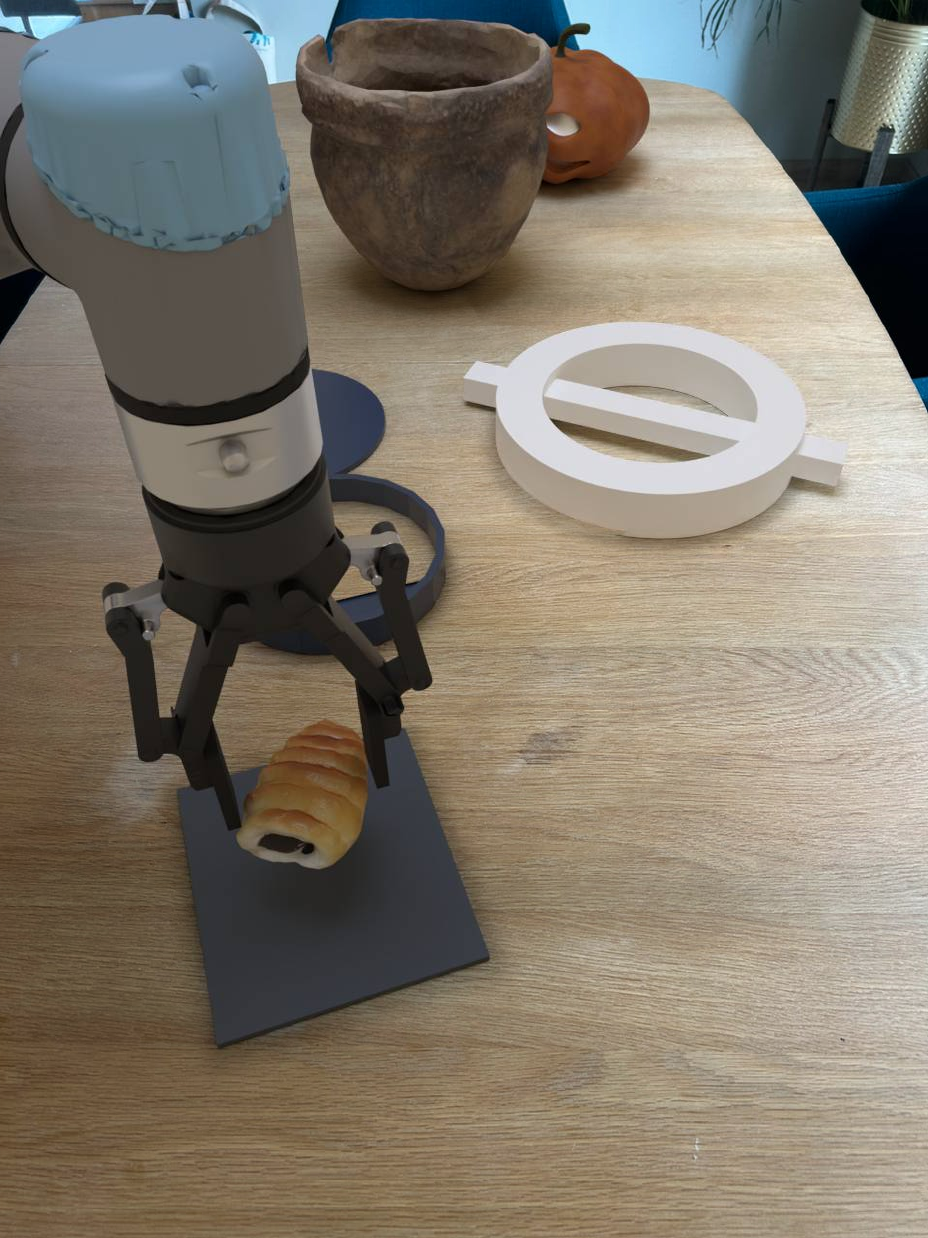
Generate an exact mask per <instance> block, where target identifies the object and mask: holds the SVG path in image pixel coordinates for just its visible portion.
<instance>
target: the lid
mask: <svg viewBox="0 0 928 1238" xmlns="http://www.w3.org/2000/svg"><path fill="white" fill-rule="evenodd" d="M311 369H312V376H313V382H314V388H315V395H316V401H317V408H318V414H319V421H320V427H321V434H322V440H323V445H322V453H323V455H324V457H325V461H326V466H327V473H328V474H348V473H349V472H350V471H353V470H354V469H355V468H357V467H358V466H359V465H361V464H363V463H364V462H365V461H366V460H367V459H368V458H369V457H370V456H371V455H372V454H373V453H374V452H375V451H376V449H377V448H378V447H379V445H380V443H381V441H382V440H383V437H384V434H385V431H386V414H385V409H384V406H383V404H382V402H381V401H380V399H379V398H378V396H377V395H376V393H374V392H373V391H372V390H371V389H370V388H369V387H368V386H366V385H365V384H364V383H362V382H360V381H358V380H356V379H354V378H351V377H349V376H347V375H344V374H341V373H339V372H334V371H328V370H326V369H325V370H324V369H319V368H311Z"/></svg>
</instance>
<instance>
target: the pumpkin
mask: <svg viewBox="0 0 928 1238" xmlns="http://www.w3.org/2000/svg"><path fill="white" fill-rule="evenodd" d="M591 29H592V28H591V24H590V23H586V22H577V23H573V24H570V25H568V26H567V27H565V28H564V29H563V31H561V33H560V35H559V37H558V40H557V45H556V46H552V47H550V50H551V56H552V64H553V72H554V74H553V81H552V84H553V92H554V94H553V102H552V104H551V105H550V107H549V108H548V109H547V111H546V116H545V117H546V123H547V129H548V155H547V159H546V168H545V170H544V173H543V176H542V180H543V181H545V182H548V183H550V184H554V185H559V184H562V183H563V184H564V183H565V182H568V181H570V180H572V179H580V180H588V179H594V178H598V177H600V176H603V175H605V174H607V173H608V172H610V171H612V170H614V169H615V168H616V167H617V166H618V165H619V164H620V163H621V162H622V161H623V160H624V159H625V158H626V156H627V155H628V153H629V152H631V151H632V150H633V149H634V148H635V147H636V146H637V144H638V143H639V142H640V141H641V139H642V138H643V136H644V134H645V133H646V130H647V128H648V125H649V123H650V118H651V117H650V116H651V107H650V101H649V97H648V94H647V92H646V90H645V87H643V85H642V84H641V82H640V81H639V80H638V78H637V77H636V76H635V75H633V73H632V72H630V71H629V70H627V68H626V67H623V65H621V64H618V63H616V62H615V61H614V60H612V59H611V57H609V56H607V55H606V54H604V53H602V52H600V51H597V50H594V49H589V48H588V49H587V48H586V49H585V48H584V49H577V50H573V49H571V48H568V47H566V44H567V42H568V39H569V38H571V36H575V35H581V36H582V35H583V36H587V35H588V34H590V33H591Z"/></svg>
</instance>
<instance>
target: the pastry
mask: <svg viewBox="0 0 928 1238" xmlns="http://www.w3.org/2000/svg"><path fill="white" fill-rule="evenodd" d="M362 739H363V738H361V736H360V735H359V734H358V733H357V732H356V731H355V730H354V729H352V728H350V727H348V726H346V725H342V724H338V723H335V722H334V721H332V720H330V719H321V720H318V721H317V722H316V723H313V724H309V725H308V726H306V727H305V728H304V729H302V730H301V731H300V732H298V734H296V735H291V736H289V738H288V739H287V740H286V741H285V742H284V745H283V747H282V749H278V750H276V751H275V752H274V753H273V755H272V756H271V759H270V761H269V763H268V764H269V765H268V764H267V765H268V766H266V767H264V768H263V769H262V770H261V772H260V774H259V776H258V782H257V786H256V788H255V789H253V790H252V791H250V792H249V793H248V794H247V796H246V798H245V800H244V803H243V821H242V824H241V825H242V827H241V828H240V830H239V831H238V833H237V835H236V837H237V841H238V843H239V845H240V846H241V847H242V848H243V849H245V850H248V851H250V852H251V853H252V854H253V855H255V856H257V857H259V858H262V859H265V860H268V861H272V862H297V863H299V864H300V865H302V866H304V867H308V868H314V869H322V868H326V867H328V866H331V865H333V864H334V863H335V862H337V861H338V860H339V859H340V858H341V857H342V856H343V855H344V854H345V853H346V852H347V851H348V850H349V849H350V848H351V846H352V845H353V844H354V843H355V841H356V840H357V838H358V836H359V834H360V832H361V828H362V822H363V816H364V811H365V806H366V802H367V798H368V792H367V787H368V781H367V758H366V754H365V748H364V743H363V741H362Z"/></svg>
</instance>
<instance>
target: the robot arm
mask: <svg viewBox="0 0 928 1238" xmlns="http://www.w3.org/2000/svg"><path fill="white" fill-rule="evenodd" d="M276 123H277V122H276V117H275V112H274V107H273V101H272V96H271V90H270V86H269V81H268V75H267V70H266V67H265V64H264V62H263V60H262V58H261V56H260V54H259V52H258V51H257V49H256V47H255V46H254V44H252V43H251V42H250V41H249V40H248V39H247V38H246V37H245V36H244V35H243V34H242V33H240V32H239V31H237V30H236V29H234V28H233V27H231V26H228V25H226V24H224V23H222V22H219V21H217V20H216V21H215V20H212V19H208V18H202V17H188V18H178V17H173V16H172V15H170V14H160V13H157V14H156V13H155V14H154V13H153V14H151V13H150V14H132V15H131V14H130V15H122V16H114V17H107V18H100V19H96V20H92V21H91V20H90V21H87V22H83V23H79V24H75V25H72V26H69V27H66V28H63V29H61V30H58V31H55V32H53V33H51V34H48V35H47V36H45V37H44V38H38V37H37V36H35V35H33V34H32V33H30V32H27V31H25V30H23V31H15V30H13V29H11V28H9V27H7V26H5V25H0V280H3V279H6V278H8V277H11V276H13V275H16V274H19V273H21V272H24V271H28V270H30V269H34V270H36V271H38V272H40V273H42V274H43V275H45V276H47V277H48V278H49V279H51V280H53V281H55V282H56V283H57V284H60V285H61V286H63V287H65V288H68V289H70V290H72V291H74V293H75V294H76V295H77V297H78V299H79V301H80V303H81V305H82V308H83V311H84V313H85V317H86V320H87V322H88V326H89V329H90V333H91V335H92V339H93V341H94V344H95V347H96V350H97V354H98V356H99V359H100V362H101V365H102V368H103V372H104V378H105V380H106V384H107V386H108V390H109V393H110V396H111V399H112V402H113V405H114V406H113V407H114V408H115V413H116V415H117V418H118V421H119V424H120V428H121V431H122V434H123V439H124V441H125V444H126V447H127V450H128V454H129V457H130V460H131V462H132V466H133V471H134V473H135V476H136V478H137V480H138V481H139V482H140V483H141V495H142V498H143V502H144V505H145V508H146V511H147V515H148V518H149V521H150V524H151V527H152V531H153V535H154V537H155V541H156V544H157V546H158V550H159V553H160V556H161V560H162V561H161V565H160V568H159V570H158V573H157V579H155V580H152V581H150V582H148V583H144V584H142V585H140V586H137V587H134V588H132V589H131V588H130V587H129V586H128V585H127V584H126V583H124V582H122V581H121V582H120V581H114V582H109V583H108V584H106V585H105V586H104V587H103V588H102V591H101V597H102V605H103V606H102V607H103V616H104V624H105V631H106V633H107V635H108V637H109V638H110V639H111V641H112V643H113V644H114V645H115V647H116V648H117V649H118V650H119V652H120V653H121V655H122V656H123V657H124V662H125V670H126V678H127V684H128V692H129V699H130V707H131V714H132V722H133V730H134V737H135V744H136V752H137V757H138V759H139V760H140V761H141V762H143V763H155V762H158V761H159V760H160V759H161V758H163V756H164V755H173V756H176V757H177V758H179V759H180V761H181V763H182V766H183V769H184V772H185V775H186V777H187V781H188V783H189V786H191V787H192V788H193V789H194V790H196V791H200V790H204V789H207V788H211V787H214V790H215V793H216V795H217V798H218V801H219V804H220V807H221V810H222V813H223V816H224V819H225V822H226V825H227V828H228V831H231V830H234V829H238V828H241V827H242V825H241V820H240V815H239V810H238V805H237V801H236V796H235V791H234V787H233V784H232V781H231V777H230V775H231V774H230V771H229V768H228V765H227V762H226V759H225V755H224V752H223V749H222V745H221V742H220V739H219V736H218V732H217V729H216V726H215V723H214V717H215V712H216V710H217V706H218V703H219V699H220V697H221V692H222V690H223V687H224V683H225V679H226V677H227V673H228V670H229V668H233V667H234V664H235V660H236V658H237V654H238V650H239V648H240V646H241V645H246V644H250V643H254V642H258V641H257V640H259V639H262V638H264V637H266V636H268V635H271V634H282V633H291V632H296V631H300V630H304V629H306V630H307V631H308V632H309V633H310V634H311V636H312V637H313V638H314V639H315V640H316V641H317V642H318V643H319V644H320V645H321V644H324V645H325V646H326V647H327V648H328V649H329V651H330V652H331V653H332V654H331V655H333V656H334V657H335V658H336V660H337V661H338V662H339V663H340V664H341V665H342V666H343V667H344V668H345V669H346V671H347V672H348V673H349V674H350V675H351V676H352V677H353V678H354V684H355V686H354V687H355V693H356V699H357V705H358V714H359V719H360V725H361V726H360V727H361V734H362V739H363V741H364V748H365V754H366V757H367V760H368V763H369V766H370V769H371V772H372V775H373V778H374V781H375V784H376V787H377V789H380V788H383V787H387V786H390V783H389V775H388V766H387V758H386V750H385V742H384V740H385V739H389V738H393V737H396V736H399V735H400V732H401V730H402V728H403V727H402V726H403V725H402V718H401V717H402V716H401V715H402V714H403V713H404V711H405V704H404V702H403V700H402V695H404V694H405V693H406V692H408V691H409V690H411V689H412V690H413V691H415V692H421V691H425V690H426V689H427V690H428V688H430V687H431V686H432V684H433V682H434V679H433V675H432V673H431V669H430V666H429V663H428V660H427V656H426V653H425V650H424V646H423V643H422V640H421V637H420V634H419V631H418V628H417V623H416V624H415V621H414V618H413V614H412V611H411V608H410V605H409V602H408V598H407V595H406V592H405V586H406V584H407V578H408V573H409V566H410V557H409V555H408V553H407V550H406V549H405V547H404V544H403V541H402V540H401V537H400V535H399V533H398V531H397V528H396V526H395V525H394V523H392V522H391V521H387V520H382V521H379V522H378V523H376V524H374V525H373V527H372V528H371V529H370V534H364V535H349V536H345V535H344V533H343V532H342V530H341V529H340V528H338V526H337V525H336V523H335V516H334V510H333V509H334V508H333V502H332V501H331V494H330V487H329V480H328V473H327V466H326V461H325V457H324V455H323V453H322V445H323V440H322V434H321V427H320V421H319V414H318V408H317V401H316V395H315V388H314V382H313V376H312V369H313V368H312V363H311V357H310V351H309V337H308V328H307V321H306V313H305V304H304V296H303V288H302V281H301V271H300V266H299V257H298V256H299V255H298V249H297V241H296V233H295V226H294V225H295V224H294V217H293V210H292V202H291V194H290V187H291V170H290V165H289V164H288V160H287V154H286V150H285V149H283V148H282V146H281V145H282V144H281V139H280V137H279V133H278V128H277V124H276ZM351 566H352V567H356V568H357V569H358V571H359V574H360V576H361V577H362V579H363V580H364V581H368V582H370V583H371V585H372V586H374V589H375V591H377V594H378V597H379V600H380V603H381V606H382V609H383V612H384V614H385V617H386V620H387V623H388V626H389V629H390V632H391V635H392V641H393V643H394V646H395V649H396V652H397V655H398V656H396V657H394V658H392V659H390V660H388V661H387V660H386V658H384V656H383V655H382V654H381V652H379V650H378V649H377V648H376V646H373V645H372V644H371V642H370V641H369V640H368V639H367V638H366V636H365V635H364V634H363V633H362V632H361V630H360V629H359V628H358V627H357V626H356V625H355V623H354V622H353V621H352V620H351V619H350V617H349V616H348V615H347V614H346V613H345V612H344V610H343V609H342V608H341V607H340V606H339V604H338V603H337V602H336V600H335V598H334V597H333V595H332V594H333V592H334V591H335V590H336V588H337V586H338V585H339V583H340V582H341V580H343V577H345V574H346V573H347V571H348V570H349V568H350V567H351ZM167 609H169V610H170V611H172V612H174V613H175V614H176V615H179V616H180V617H182V618H184V619H186V620H188V621H189V622H191V623H193V624H194V625H195V632H194V635H193V639H192V641H191V642H192V643H191V645H190V649H189V654H188V657H187V661H186V664H185V668H184V672H183V676H182V679H181V683H180V687H179V691H178V694H177V698H176V702H175V706H172V705H171V706H170V714H171V716H160V706H159V697H158V688H157V678H156V668H155V660H154V654H153V648H152V640H154V639H155V637H156V633H157V631H159V630H160V627H161V625H162V623H161V615H162V613H163V612H164V611H165V610H167Z"/></svg>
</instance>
